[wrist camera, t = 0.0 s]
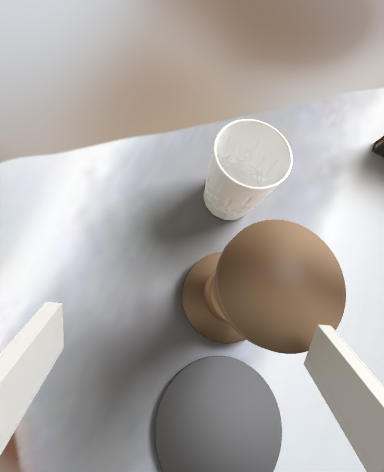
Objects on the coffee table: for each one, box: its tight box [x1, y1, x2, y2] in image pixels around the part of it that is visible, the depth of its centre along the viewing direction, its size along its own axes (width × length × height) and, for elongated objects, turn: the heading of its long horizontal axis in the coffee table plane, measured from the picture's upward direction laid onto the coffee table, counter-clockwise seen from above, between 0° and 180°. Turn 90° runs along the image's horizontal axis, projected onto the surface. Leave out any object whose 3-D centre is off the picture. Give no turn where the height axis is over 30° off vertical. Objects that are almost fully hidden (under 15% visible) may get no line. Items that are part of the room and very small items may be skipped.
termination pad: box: [155, 356, 282, 472], centre depth 25 cm, size 13×13×1 cm
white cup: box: [203, 119, 293, 220], centre depth 29 cm, size 8×8×10 cm
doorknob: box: [182, 220, 346, 354], centre depth 22 cm, size 10×10×15 cm
